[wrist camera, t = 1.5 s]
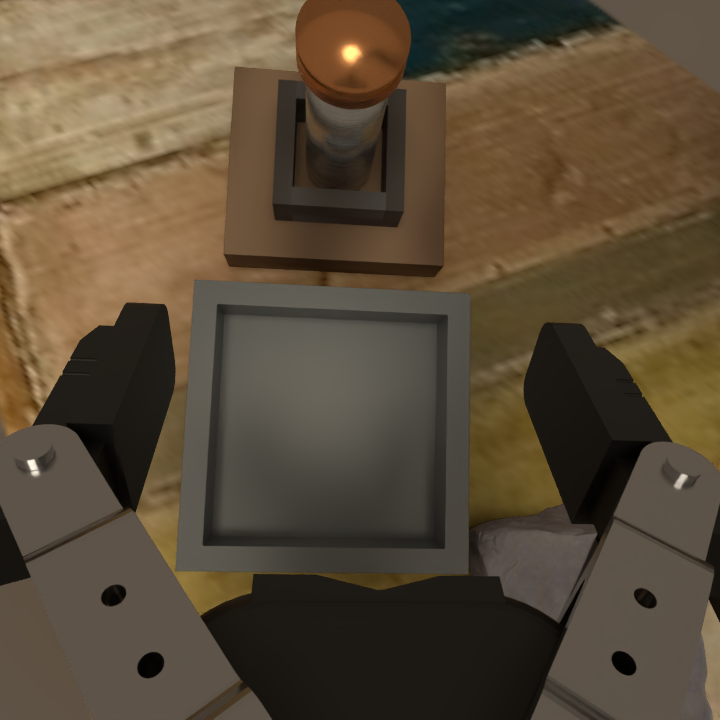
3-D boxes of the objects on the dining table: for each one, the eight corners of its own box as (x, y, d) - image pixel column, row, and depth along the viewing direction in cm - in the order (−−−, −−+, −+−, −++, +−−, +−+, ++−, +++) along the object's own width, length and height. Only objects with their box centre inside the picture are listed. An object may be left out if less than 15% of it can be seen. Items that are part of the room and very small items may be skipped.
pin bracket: (436, 106, 30) (456, 57, 26) (434, 276, 29) (453, 252, 25) (239, 91, 30) (229, 38, 26) (229, 266, 28) (216, 239, 25)
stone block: (615, 482, 31) (442, 522, 28) (691, 491, 26) (494, 541, 23) (658, 715, 30) (485, 783, 27) (744, 767, 26) (547, 855, 23)
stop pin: (378, 132, 28) (412, -14, 19) (376, 205, 27) (409, 92, 18) (301, 126, 28) (298, -25, 18) (297, 200, 27) (292, 83, 18)
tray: (454, 307, 29) (470, 293, 26) (451, 558, 28) (468, 574, 25) (206, 295, 28) (194, 279, 25) (189, 555, 27) (175, 571, 24)
